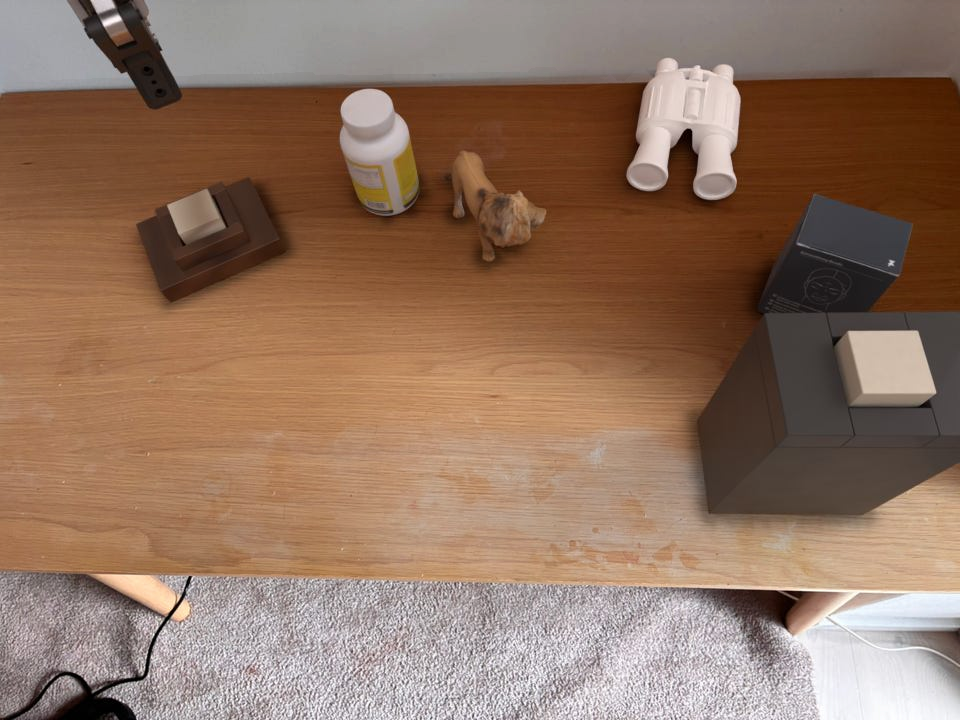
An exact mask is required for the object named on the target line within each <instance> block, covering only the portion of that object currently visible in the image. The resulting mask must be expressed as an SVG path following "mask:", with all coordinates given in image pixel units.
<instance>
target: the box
mask: <svg viewBox="0 0 960 720" xmlns="http://www.w3.org/2000/svg"><path fill="white" fill-rule="evenodd" d="M913 225H914V223H912V222H908V221H907V220H906V221H905V220H902V219H899V218H896V217H892V216H889V215H886V214H883V213H878V212H876V211H873V210H870V209H866V208H863V207H860V206H857V205H853V204H849V203H846V202H843V201H840V200H836V199H833V198H830V197H827V196H823V195H820V194H818V193H813V195H812V196H811V198H810V199H809V201H808V203H807V205H806V207H805V209H804V210H803V212H802V214H801V215H800V217H799V219H798V221H797V223H796V225H795V226H794V228H793V230H792V232H791V233H790V235H789V237H788V239H787V240H786V242H785V244H784V246H783V248H782V249H781V251H780V253H779V254H778V256H777V258H776V260H775V261H774V263H773V265H772V268H771V271H770V273H769V276H768V279H767V281H766V283H765V287H764V290H763V291H762V294H761V297H760V300H759V303H758V304H757V308H756V311H757V312H758V313H761V314H763V315H764V314H765V313H845V312H870V311H871V309H873V307H874V306H875V305H876V303H878V301H879V300H880V299H881V298H882V297H883V295H885V293H886V292H887V291H888V290H889V288H890V287H891V286H892V285H893V284H894V282H896V280H897V279H898V278H899V277H900V275H901V274H902V273H901V272H902V269H903V264H904V261H905V257H906V253H907V248H908V245H909V241H910V238H911V233H912V230H913Z"/></svg>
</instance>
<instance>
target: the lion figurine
mask: <svg viewBox="0 0 960 720" xmlns="http://www.w3.org/2000/svg"><path fill="white" fill-rule="evenodd" d="M443 178H444V179H445V180H446V181H448V182H451V183H452V188H453V192H454V194H453V202H454V203H453V205H454V206H453V211H452V215H453V218H455V219H461V218H463V217H465V210H464V207H463V201H462V198H463V195H462V194H464V199H465V202H466V205H467V208H468V209H469V211H470V213H471V214H472V216H473V217H474V219H475V220H476V226H477V230H478V232H479V233H478V237H479V240H480V243H481V247H482V253H481V254H482V255H481V258H482V260H483V261H484V262H492V261H493V260H495V259H496V255H495V249H494V247H493V245H494V246H496V247H498V246H499V247H501V248H505V247H507V248H508V247H513V246H517V245H523V244H526V243H527V242H528V241H530V239H531V238H532V235H531V229H534V228H535V229H536V228H539V226H540V225H541V224H542V223H544V221H545V217H546V215H547V210H546V209H545V208H543V207H537V206H535V205H534V204H533V203H532V202H531V201H529V200H528V199H527V197H525V196H524V193H523V192H522V191H520V190H517V191H516V192H515V193H513V194H512V193H504V192H498V190H497V189H496V187H495V186H494V185H493V184H492V182H491V181H490V180H489V179H488V178H487V176H486V175H485V166H484V163H483V161H482V158H481V157H480V156H479V155H478V154H477V153H475V152H473V151H467V150H461V151H459V153H458V155H457V156H456V158H455V159H454V161H453V162H452V168H451V173H448V174H444V175H443ZM492 244H493V245H492Z"/></svg>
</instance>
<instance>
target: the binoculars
mask: <svg viewBox="0 0 960 720" xmlns="http://www.w3.org/2000/svg"><path fill="white" fill-rule="evenodd" d="M741 101H742V100H741V95H740V93H739V90H738V88H737V86H736V85H734V68H733V67H732V66H731V65H729V64H726V63H722V64H717V65H716V66H715V67H714V68H713V69H712V70H711V71H710V70H708V69H702V68H701V66H700V65H699V64H698V65H694V66H693V67H690V68H689V67H682V68H679V64H678V62H677V60H675V59H674V58H671V57H665V58H662V59H660V60H659V61H658V62H657V63H656V67H655V73H654V77H653V78H651V79H650V80H649V81H648V82H647V85H646V86H645V88H644V89H643V92H642V98H641V103H640V109H639V114H638V121H637V126H636V131H635V139H636V142H637V144H638V145H639V146H638V148H637V150H636V153H635V155H634V157H633V159H632V161H631V162H630V164H629V165H628V166H627V169H626V180H627V181H628V183H629V184H630V185H631V186H632V187H633V188H635V189H637V190H640V191H643V192H655V191H658V190H660V189H662V188H663V187H664V186H665V185H666V184H667V181H668V179H669V169H668V165H669V157H670V152H671V151H670V150H671V149H672V148H674V147H675V146H676V145H677V143H678V141H679V140H680V138H681V136H682V135H683V133H684V132H685V131H686V130H687V129H689V130H691V131H692V138H691V139H692V140H691V141H692V142H691V143H692V145H691V147H692V150H693V151H694V153H695V154H696V155H698V158H697V167H696V174H695V176H694V179H693V183H692V188H693V192H694V194H695V195H696V196H697V197H698V198H701V199H703V200H707V201H718V200H722V199H725V198H727V197H729V196H730V195H732V194H733V193H734V192H735V190H736V189H737V183H738V182H737V177H736V174H735V172H734V168H733V161H732V156H731V154H732V153H733V152H734V151H735V150H736V148H737V145H738V136H739V125H740V124H739V123H740V113H741Z"/></svg>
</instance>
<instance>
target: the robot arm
mask: <svg viewBox="0 0 960 720" xmlns="http://www.w3.org/2000/svg"><path fill="white" fill-rule="evenodd" d="M66 2H67V3H68V5H69V6H70V8H71V9H72V11H73V13H74V14H75V16H76V17H77V18H78V20H79V22H80V23H81V25H82V26H83V31H84V32H85V34H86V36H87V37H88V39H89V40H92V41H93V43H94V44H95V45H96V47H97V48H98V49H99V50H100V52H102V53H103V54H104V56H105V57H106V58H107V59H108V60H109V61H110V63H111V65H112V66H113V68H114V69H117V71H118V72H119V73H120V74H121V75H122V74H125V73H127V75H128V76H129V78H130V80H131V81H132V83H133V85H134V86H135V88H136V90H137V91H138V93H139V95H140V97H141V98H142V100H143V102H144V103H145V105H146V106H147V107H148V108H149V109H151V110H159V109H162V108H165V107H167V106H169V105H172V104H175V103H177V102H179V101H181V100H182V97H183V93H182V91H181V89H180V87H179V84H178V82H177V80H176V79H175V77H174V75H173V72H172V71H171V69H170V67H169V66H168V64H167V62H166V59H165V58H164V56H163V54H162V51H163V48H162V46H161V45H160V42H159V39H158V37H157V35H156V34H155V32H154V33H152V29H151V28H150V27H151V26H152V24H151V23H150V20H149V19H148V15H149V12H150V11H149V8H148V5H147V3H146V1H145V0H66Z"/></svg>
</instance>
